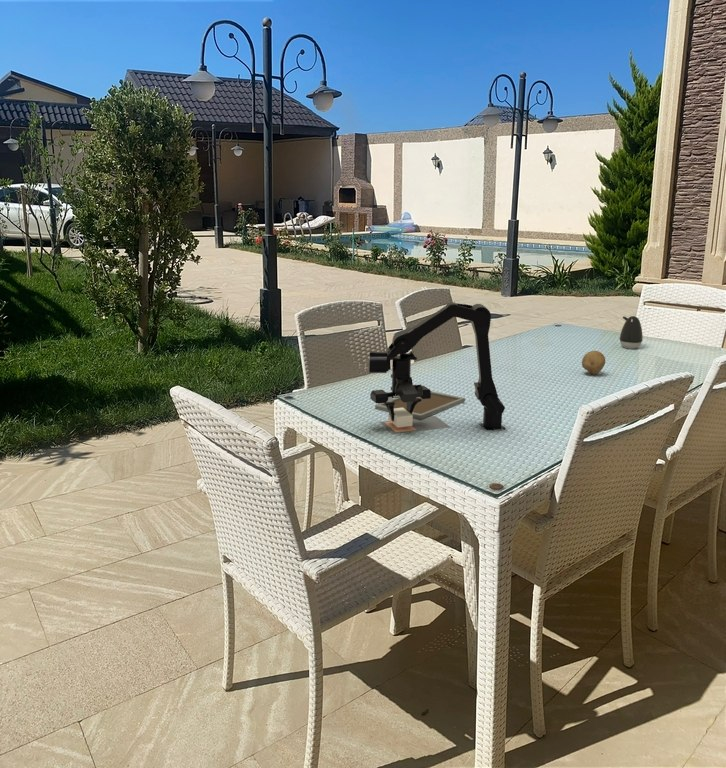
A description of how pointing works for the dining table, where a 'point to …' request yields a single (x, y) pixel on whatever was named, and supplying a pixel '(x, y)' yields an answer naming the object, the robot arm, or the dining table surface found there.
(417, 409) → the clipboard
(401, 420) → the beige rectangular block
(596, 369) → the brown potato
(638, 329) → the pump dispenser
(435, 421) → the mat
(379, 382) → the dining table surface
